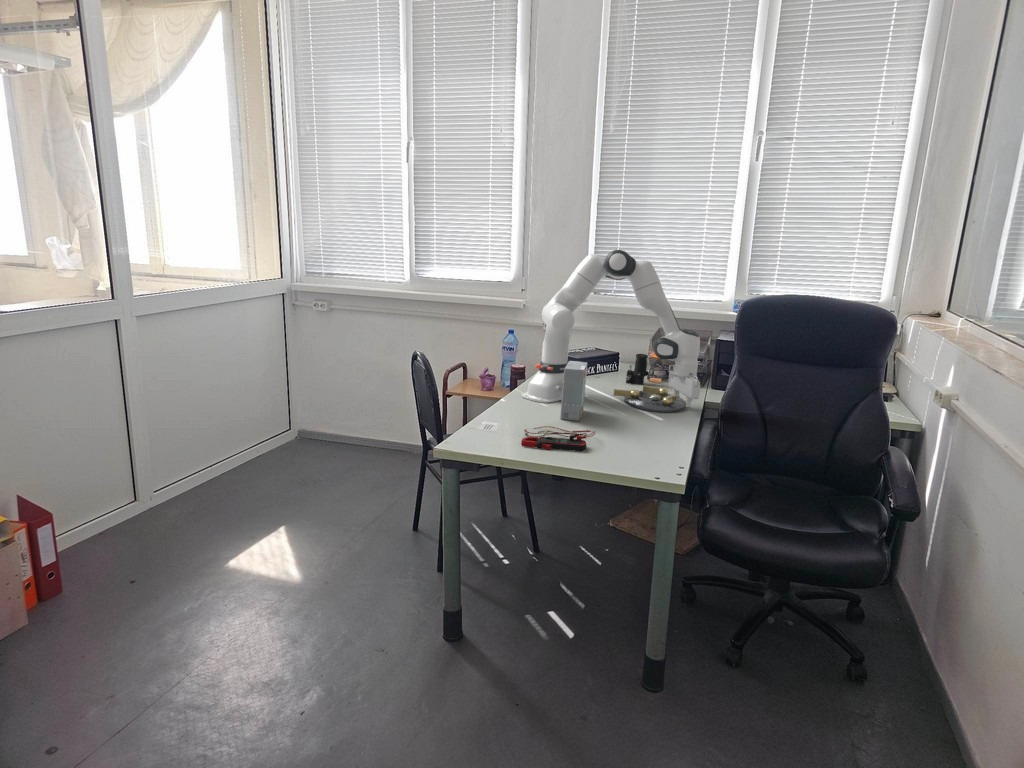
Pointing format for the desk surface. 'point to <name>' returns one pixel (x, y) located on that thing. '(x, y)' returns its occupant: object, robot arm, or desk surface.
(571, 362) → the hard drive box
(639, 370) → the scope
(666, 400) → the knob
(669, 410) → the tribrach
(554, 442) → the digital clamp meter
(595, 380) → the desk surface
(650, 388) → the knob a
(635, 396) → the knob
